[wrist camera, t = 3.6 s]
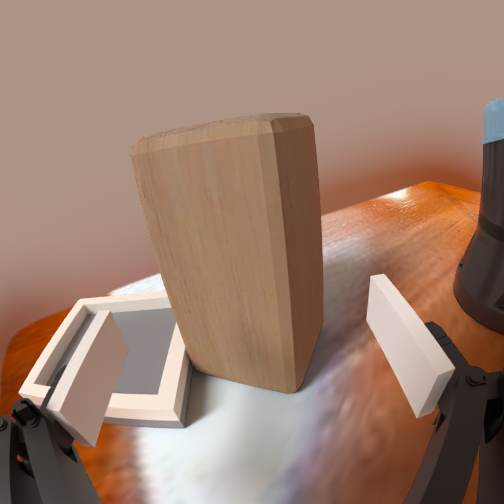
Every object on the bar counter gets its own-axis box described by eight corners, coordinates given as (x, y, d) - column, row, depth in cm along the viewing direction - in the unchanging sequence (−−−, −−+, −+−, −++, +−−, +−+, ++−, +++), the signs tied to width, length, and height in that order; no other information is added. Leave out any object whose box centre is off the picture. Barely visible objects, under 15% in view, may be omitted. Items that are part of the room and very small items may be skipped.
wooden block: (236, 311, 33) (203, 125, 24) (324, 322, 29) (314, 112, 20) (191, 374, 25) (121, 142, 16) (298, 400, 21) (274, 112, 12)
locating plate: (203, 305, 35) (198, 286, 33) (184, 428, 19) (173, 410, 18) (86, 315, 35) (79, 299, 34) (33, 409, 20) (18, 392, 18)
